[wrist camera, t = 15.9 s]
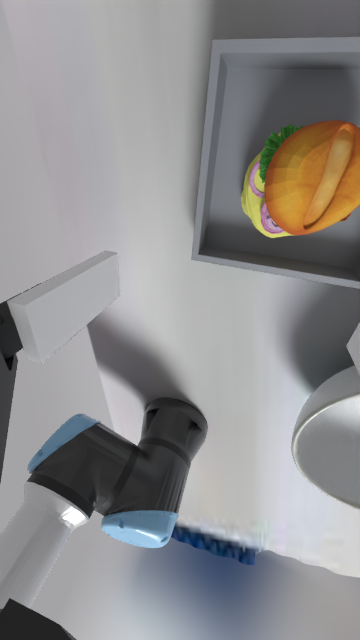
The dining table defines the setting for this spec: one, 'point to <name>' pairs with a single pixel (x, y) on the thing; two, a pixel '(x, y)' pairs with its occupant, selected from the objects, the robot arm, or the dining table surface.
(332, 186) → the cheeseburger
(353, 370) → the decorative bowl
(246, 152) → the bin
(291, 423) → the dining table surface
